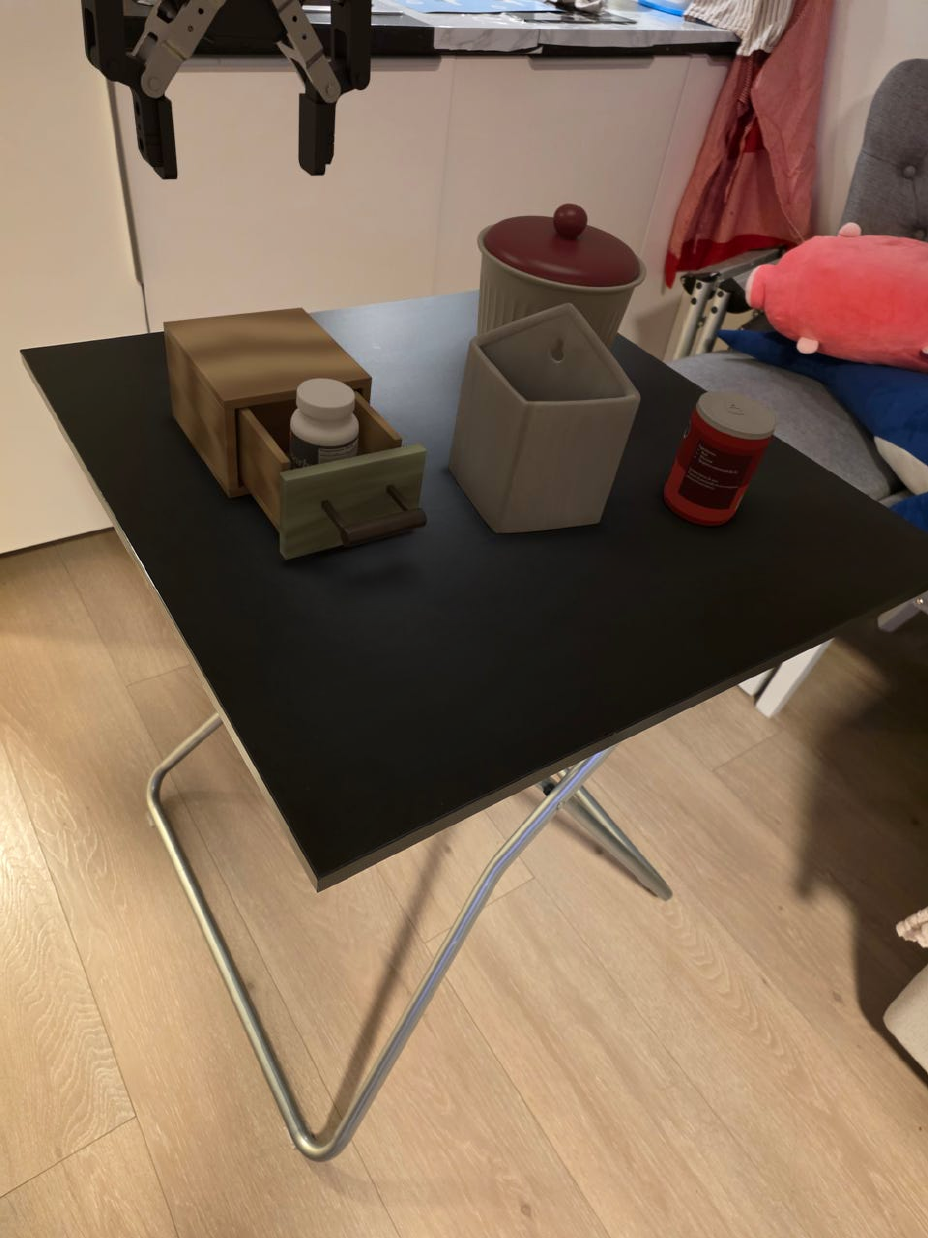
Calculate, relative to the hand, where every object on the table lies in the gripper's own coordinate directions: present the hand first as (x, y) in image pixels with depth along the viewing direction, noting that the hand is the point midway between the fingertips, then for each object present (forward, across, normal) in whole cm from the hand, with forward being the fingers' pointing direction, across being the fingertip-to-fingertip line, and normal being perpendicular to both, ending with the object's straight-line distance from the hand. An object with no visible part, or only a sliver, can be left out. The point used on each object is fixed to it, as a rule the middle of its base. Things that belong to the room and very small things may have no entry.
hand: (241, 173), depth 45 cm
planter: (+30, -26, +1) cm, 40 cm away
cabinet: (+30, -9, -18) cm, 36 cm away
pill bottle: (+28, -9, -6) cm, 30 cm away
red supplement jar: (+30, -45, +7) cm, 55 cm away
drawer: (+29, -9, -4) cm, 31 cm away
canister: (+30, -42, -18) cm, 55 cm away
